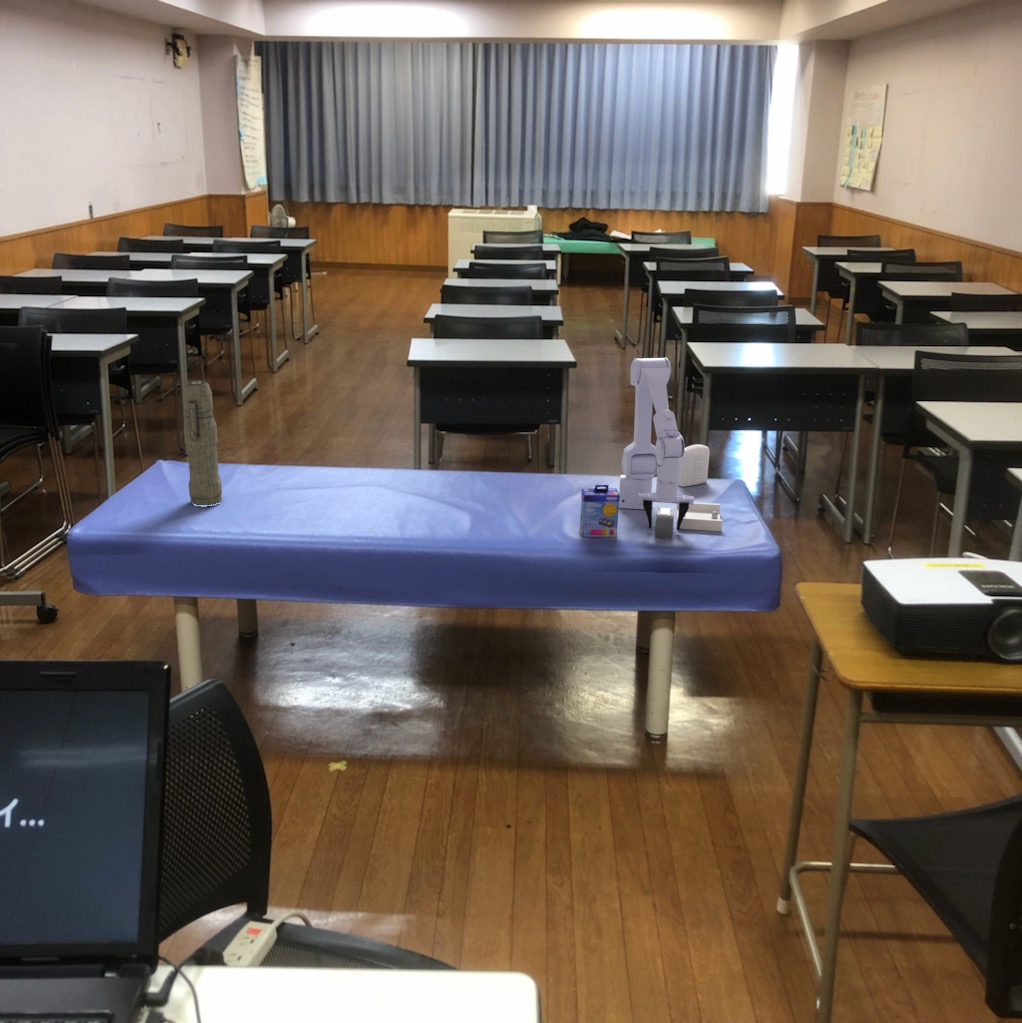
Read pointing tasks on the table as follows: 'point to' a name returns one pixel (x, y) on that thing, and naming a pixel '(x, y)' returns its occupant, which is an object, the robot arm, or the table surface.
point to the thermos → (201, 444)
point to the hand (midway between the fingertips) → (664, 527)
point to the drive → (664, 522)
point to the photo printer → (694, 465)
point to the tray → (701, 517)
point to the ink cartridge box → (599, 512)
